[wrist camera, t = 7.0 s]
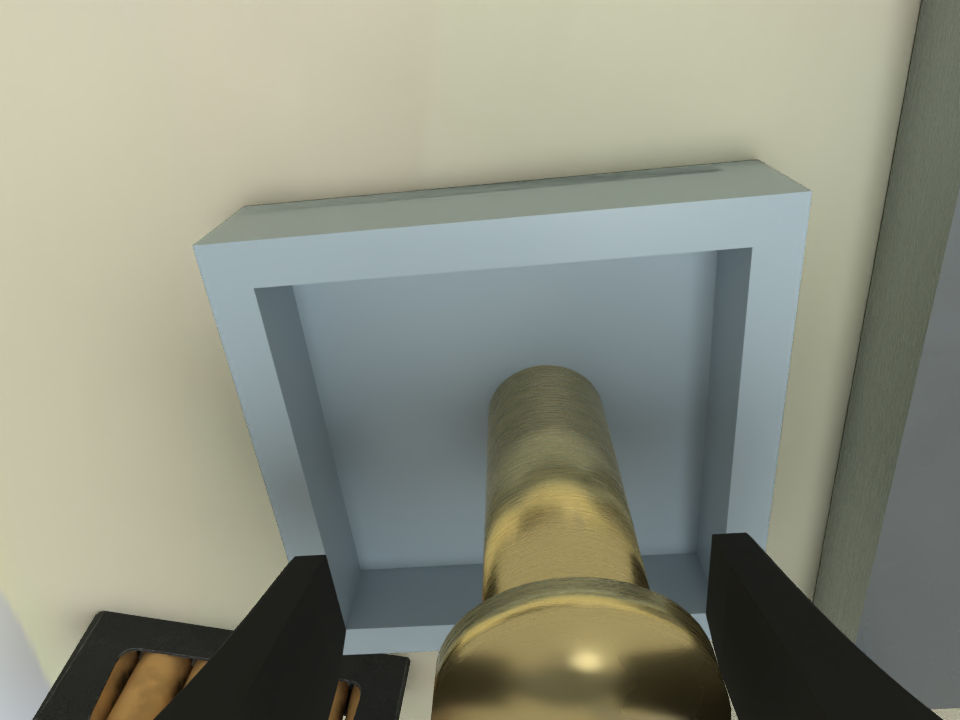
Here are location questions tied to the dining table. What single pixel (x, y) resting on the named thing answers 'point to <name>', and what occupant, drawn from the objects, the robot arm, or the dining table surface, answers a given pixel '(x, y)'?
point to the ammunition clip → (188, 673)
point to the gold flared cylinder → (567, 581)
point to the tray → (508, 366)
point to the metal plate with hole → (908, 402)
